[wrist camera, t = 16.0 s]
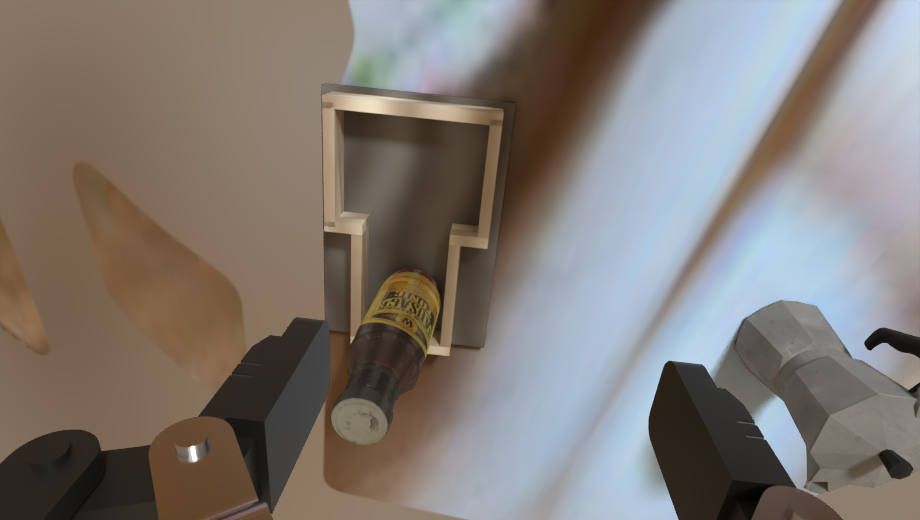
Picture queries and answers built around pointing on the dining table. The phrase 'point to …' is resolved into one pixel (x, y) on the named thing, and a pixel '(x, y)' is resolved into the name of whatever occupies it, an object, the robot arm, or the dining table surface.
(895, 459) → the coffeepot
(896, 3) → the dining table surface
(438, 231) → the keyhole board
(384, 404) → the sauce bottle
